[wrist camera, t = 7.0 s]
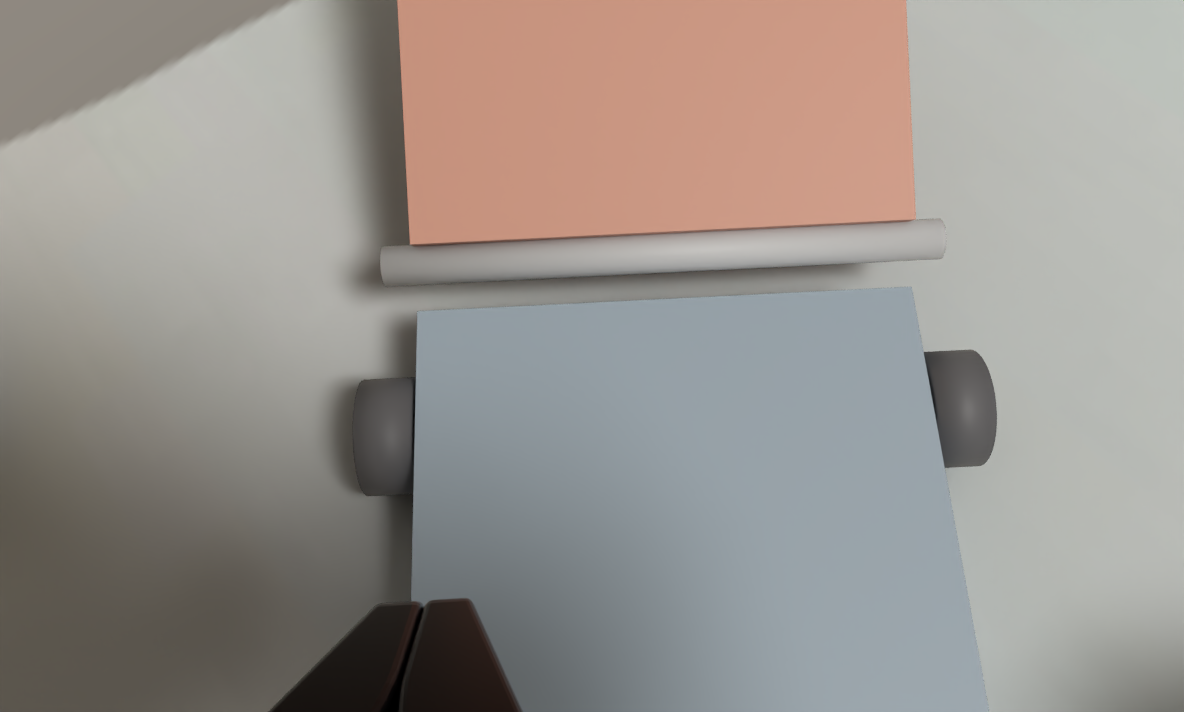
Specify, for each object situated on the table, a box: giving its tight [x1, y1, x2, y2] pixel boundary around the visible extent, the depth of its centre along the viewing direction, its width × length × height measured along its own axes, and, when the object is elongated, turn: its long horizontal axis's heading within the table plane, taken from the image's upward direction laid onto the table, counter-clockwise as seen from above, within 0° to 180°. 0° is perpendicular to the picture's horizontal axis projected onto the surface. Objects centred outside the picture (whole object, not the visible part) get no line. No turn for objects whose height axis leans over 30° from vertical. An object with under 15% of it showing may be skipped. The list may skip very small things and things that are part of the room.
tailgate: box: [380, 0, 946, 287], centre depth 22 cm, size 1×12×10 cm
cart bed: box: [353, 287, 997, 712], centre depth 21 cm, size 14×14×3 cm
